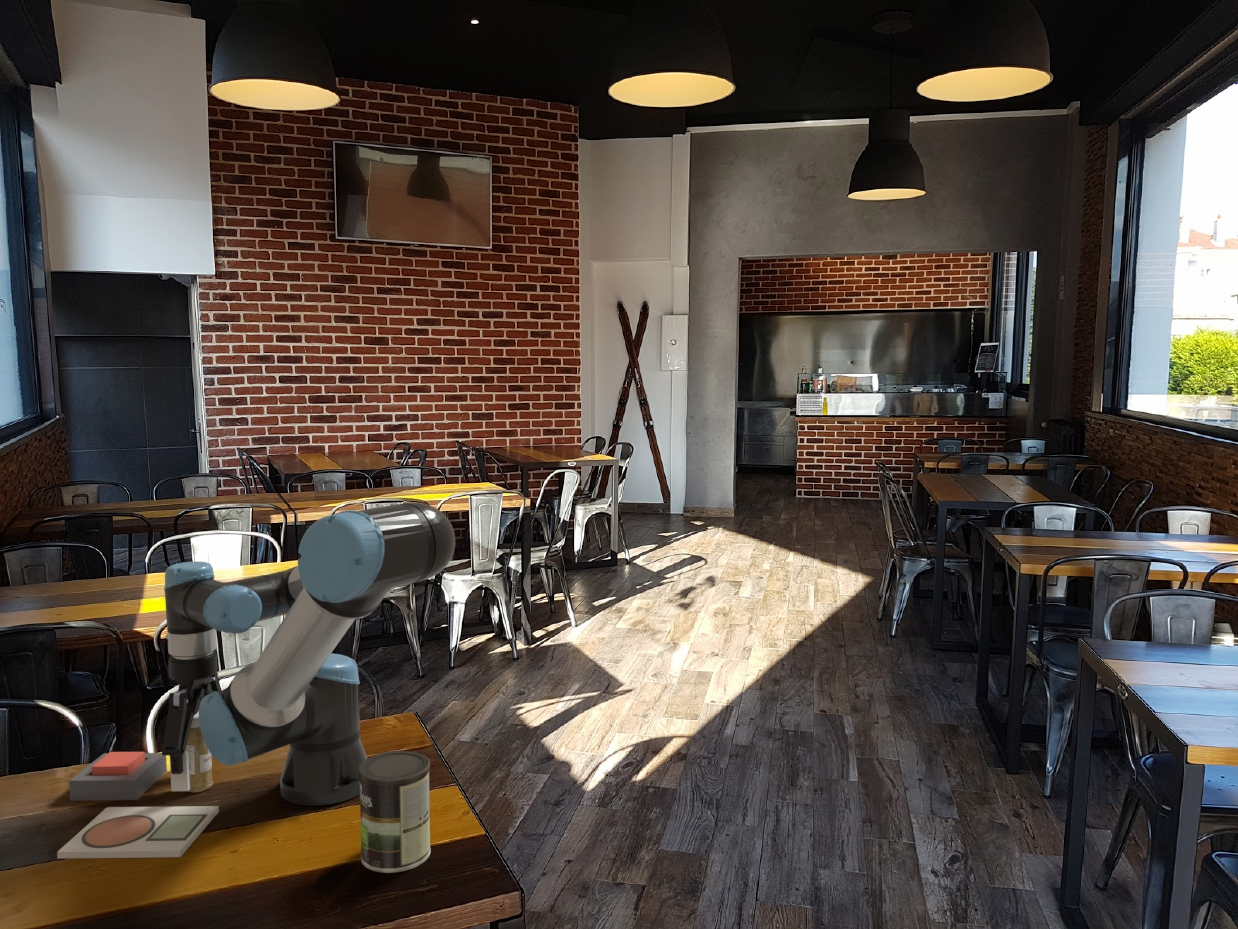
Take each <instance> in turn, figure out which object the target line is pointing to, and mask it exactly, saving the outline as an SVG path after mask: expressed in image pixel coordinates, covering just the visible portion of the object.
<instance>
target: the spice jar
mask: <svg viewBox="0 0 1238 929" xmlns="http://www.w3.org/2000/svg"><path fill="white" fill-rule="evenodd" d="M185 751H188V759H189V780H190V789H189V791H188V792H189V793H201V792H204V791H207V790H209V789H211V788H212V787H213V785H214V781H213V770H212V767H213V763H212V762H213V760H212V757H211V753H210V751H209V750H208V748H207V746H206V744H205V741H204V739H203V736H202V733H201V729H200V723H199V710H198V713H197V714H196V715H194V718H193V722H192V726H191V730H190V734H189V737H188V741H187V745H186V749H185Z"/></svg>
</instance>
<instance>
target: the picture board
mask: <svg viewBox="0 0 1238 929" xmlns="http://www.w3.org/2000/svg"><path fill="white" fill-rule="evenodd" d="M219 808H220V807H219V805H211V806H210V805H203V806H200V805H199V806H196V805H195V806H191V805H190V806H188V805H187V806H185V805H184V806H181V805H180V806H107V807H106V808H104V809H103V810H102V811H101V812H99V814H97V816H95V817H94V818H93V819H92V820H91V821H90V822H89V823H88V824H87V825H86V826H84V827H83V828H82V829H81V830H79V832H78V833H77V834H76V835H74V837H72V838H71V839H70V840H69V841H68V842H67V843H65V844H64V845H63V846H62V847H61V848H60V849H59V850H58V851H57V852H56V856H57V857H56V858H57V859H121V858H122V859H129V858H133V859H135V858H140V859H141V858H142V859H145V858H150V859H151V858H181V857H182V856H183V855H184V853H185V852H186V851H187V850H188V849H189V847H190V846H192V844H193V843H194V842H195V840H196V839H197V838H198V837H199V836H200V835H201V833H203V831H204V830H205V829H206V827H208V825H209V824H210V823H211V822H212V821H213V819H215V817H216V816H217V815H218V814H219V812H220V811H219Z"/></svg>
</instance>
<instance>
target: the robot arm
mask: <svg viewBox="0 0 1238 929" xmlns="http://www.w3.org/2000/svg"><path fill="white" fill-rule="evenodd" d="M454 530H455V529H454V527H453V525H452V524H451V521H450V519H448V517H447V516H446V514H444V513H443V512H442V511H440V510H439V509H438V508H436V507H434V506H433V505H429V504H427V503H422V502H412V501H410V502H403V503H399V504H392V505H385V506H380V507H371V508H368V509H367V508H366V509H361V510H351V509H349V510H342V511H339V512H335V513H333V514H330V515H326V516H323V517H321V518H319V519H317V520H316V521H314V522H313V523H312V524H311V525H309V527H308V528H307V529H306V530H305V532H304V534H303V536H302V538H301V540H300V543H299V547H298V551H297V552H298V554H300V558H298V559H297V565H295V566H293V567H290V568H288V569H285V570H281V571H277V572H272V573H269V574H262V575H257V576H253V577H252V576H251V577H247V578H242V579H236V580H232V581H219V580H215V574H214V573H215V572H214V568H213V566H212V564H211V563H209V562H206V561H187V562H186V561H185V562H179V563H178V562H177V563H175V564H172V565H170V566H168V567H167V568H166V569H165V572H164V588H163V591H164V602H165V614H166V615H165V618H166V631H167V634H166V635H165V639H166V640H167V650H168V654H169V655H170V656H169V658H168V674H169V678H170V679H171V680H173V681H175V682H177V683H178V689H177V690H178V691H177V692H169V695H168V711H167V715H166V716H167V717H166V722H165V729H164V735H163V736H164V737H163V742H162V748H161V753H162V755H166V756H169V764H170V765H169V769H170V787H171V788H170V790H171V792H189V789H190V780H189V759H188V751H185V749H186V745H187V741H188V737H189V734H190V730H191V726H192V722H193V718H194V715H196V714H197V713H198V710H199V723H200V729H201V733H202V736H203V739H204V741H205V744H206V746H207V748H208V750H209V751H210V753H211V758H212V757H213V758H214V759H215V760H216V761H217V762H219V763H220V764H222V765H224V766H234V765H237V764H241V763H247V762H248V761H249V760H251V759H254V758H257V757H260V756H262V755H264V754H267V753H270V752H274V751H277V750H279V749H282V748H283V747H286V746H288V745H289V749H288V753H287V756H286V759H285V762H284V766H283V769H282V772H281V775H280V782H279V783H280V786H279V787H280V796H281V797H282V798H283V799H284V800H285V801H287V802H289V803H292V804H294V805H300V806H307V807H309V806H312V807H313V806H314V807H316V806H318V807H320V806H327V805H328V806H329V805H333V804H337V803H342V802H345V801H348V800H351V799H354V798H355V797H357V796H360V780H359V772H358V768H359V766H360V764H361V763H362V762H363V761H365V760H366V759H368V758H369V757H368V755H367V753H366V751H365V749H364V745H363V743H362V739H361V730H360V728H361V724H360V723H361V722H360V721H361V720H360V679H359V678H360V676H359V670H358V664H357V662H356V661H355V660H354V659H353V658H351V657H349V656H347V655H343V654H339V653H333V651H334V650H335V648H336V647H337V646H338V644H339V643H340V641H341V640H342V638H343V637H344V636H345V634H346V633H347V631H348V629H350V628H351V626H352V625H353V623H354V622H355V620H357V619H362V618H366V617H368V616H369V615H370V614H372V613H373V612H374V611H376V609H377V608H378V606H379V604H381V602H382V601H383V599H384V598H385V597H386V596H387V594H388V593H389V592H390V591H391V590H393V589H395V588H399V587H402V586H408V585H411V584H414V583H420V582H422V581H427V580H429V579H430V578H433V577H435V576H437V575H439V573H441V572H442V571H443V570H444V569H445V568H446V567H447V566H448V565H449V563H450V561H451V560H452V558H453V555H454V552H455V548H456V535H455V531H454ZM282 616H284V618H283V619H282V620H281V622H280V623H279V626H278V627H277V628H276V630H275V632H274V633H273V634H272V636H271V638H270V639H269V641H268V642H267V644H266V645H265V647H264V649H263V651H262V652H261V653H260V655H259V656H258V658H257V659H256V661H255V662H252V663H249V664H247V665H245V666H243V667H242V668H241V669H240V670H239V671H238V672H237V673H236V674H235V676H234V677H233V679H232V680H231V681H230V683H228V684H229V685H228V686H227V687H226V688H224V689H222V686H221V683H220V680H219V674H218V653H217V651H215V650H216V649H217V647H218V645H217V642H218V641H217V631H218V632H221V633H226V634H242V633H246V632H248V631H249V630H250V629H252V628H253V627H254V626H255V625H256V624H257V623H258V622H263V621H266V620H270V619H273V618H277V617H282Z"/></svg>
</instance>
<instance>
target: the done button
mask: <svg viewBox="0 0 1238 929" xmlns="http://www.w3.org/2000/svg"><path fill="white" fill-rule="evenodd" d="M145 753H146V752H145V751H110V752H108V754H107V755H106V756H105V757H103V758H102V759H101V760H100V761H98V762H97V763H96V764H95V765H93V766H92V775H130V774H131V773H132V772H133V771H135V770H136V769H137V768H138V767H139V766H140V765H141V764H143V763H144V762H145Z"/></svg>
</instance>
